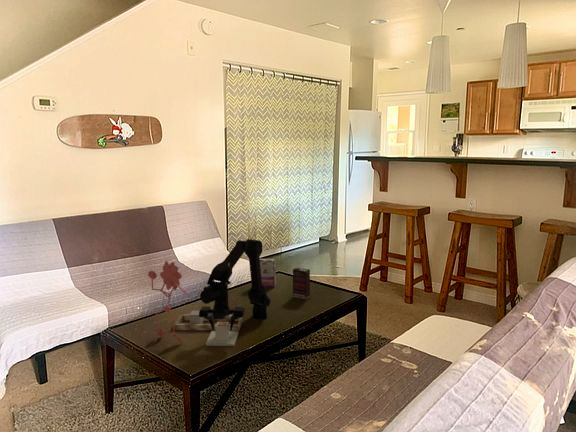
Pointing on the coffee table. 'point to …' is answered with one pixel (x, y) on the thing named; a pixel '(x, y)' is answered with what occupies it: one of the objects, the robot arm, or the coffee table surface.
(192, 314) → the grey block
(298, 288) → the supplement box
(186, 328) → the bin
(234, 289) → the coffee table surface
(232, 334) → the sage board
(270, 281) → the candy bar box
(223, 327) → the labelled block
